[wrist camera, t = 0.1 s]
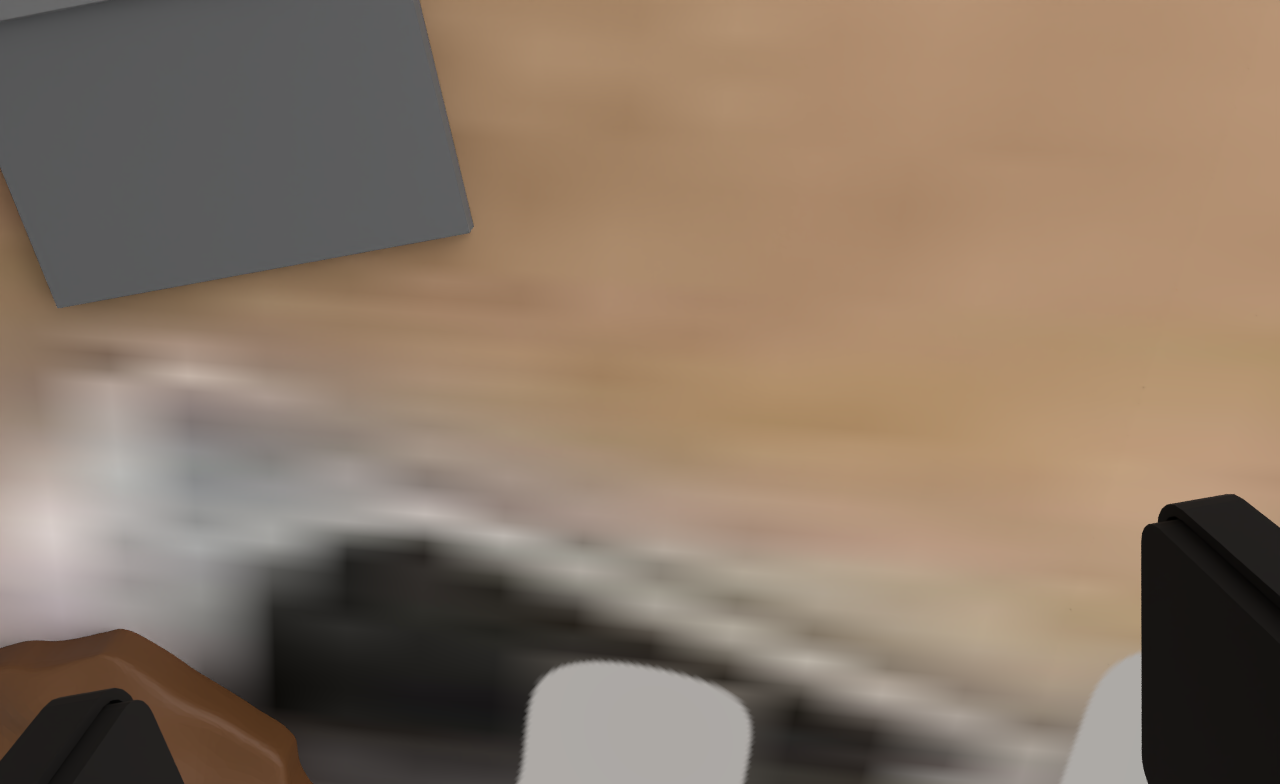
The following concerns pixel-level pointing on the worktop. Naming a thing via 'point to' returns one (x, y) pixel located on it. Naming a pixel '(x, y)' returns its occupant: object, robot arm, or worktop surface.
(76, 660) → the plant
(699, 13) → the worktop surface
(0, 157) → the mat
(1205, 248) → the worktop surface
